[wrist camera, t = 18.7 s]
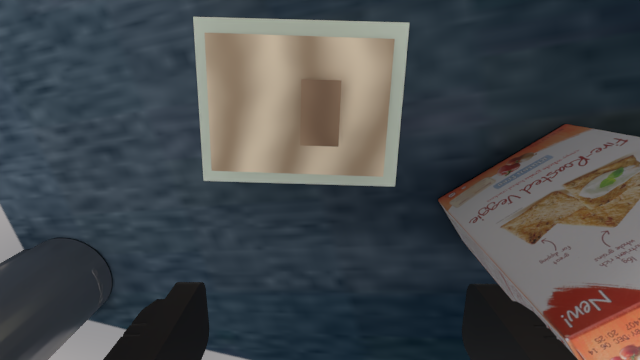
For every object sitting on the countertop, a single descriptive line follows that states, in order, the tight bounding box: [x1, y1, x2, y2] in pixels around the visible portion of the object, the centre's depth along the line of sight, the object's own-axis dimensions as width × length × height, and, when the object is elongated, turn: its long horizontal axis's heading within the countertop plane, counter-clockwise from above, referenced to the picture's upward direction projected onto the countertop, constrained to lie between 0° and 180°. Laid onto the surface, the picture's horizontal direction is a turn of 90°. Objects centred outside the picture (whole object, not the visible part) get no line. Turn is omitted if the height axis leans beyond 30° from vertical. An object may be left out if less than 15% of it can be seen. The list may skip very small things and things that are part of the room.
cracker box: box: [438, 124, 640, 360], centre depth 26 cm, size 14×6×21 cm, turn 124°
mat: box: [193, 17, 409, 187], centre depth 34 cm, size 19×15×1 cm
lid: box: [205, 33, 395, 177], centre depth 30 cm, size 16×12×6 cm
